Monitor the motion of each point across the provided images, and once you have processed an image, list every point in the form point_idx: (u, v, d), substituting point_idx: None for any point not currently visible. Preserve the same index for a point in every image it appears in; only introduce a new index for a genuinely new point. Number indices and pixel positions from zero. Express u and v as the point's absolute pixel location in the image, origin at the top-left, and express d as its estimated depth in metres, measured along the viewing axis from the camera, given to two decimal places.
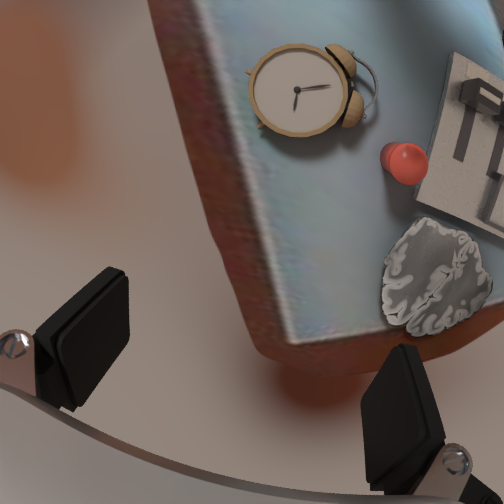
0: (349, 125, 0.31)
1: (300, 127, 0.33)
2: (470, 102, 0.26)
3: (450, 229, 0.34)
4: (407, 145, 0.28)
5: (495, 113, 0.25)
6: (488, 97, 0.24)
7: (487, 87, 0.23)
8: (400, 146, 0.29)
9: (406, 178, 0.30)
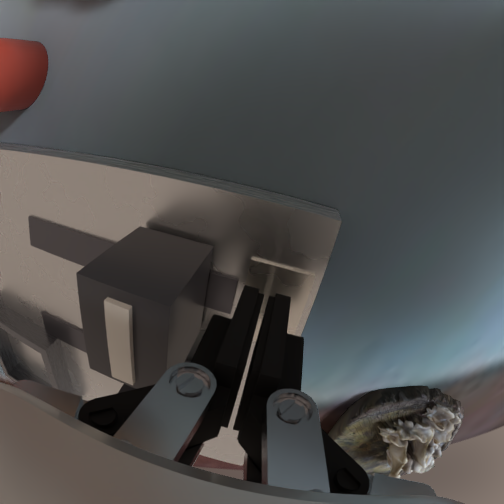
0: None
1: None
2: None
3: None
4: None
5: None
6: (116, 338, 0.08)
7: (148, 340, 0.08)
8: None
9: None
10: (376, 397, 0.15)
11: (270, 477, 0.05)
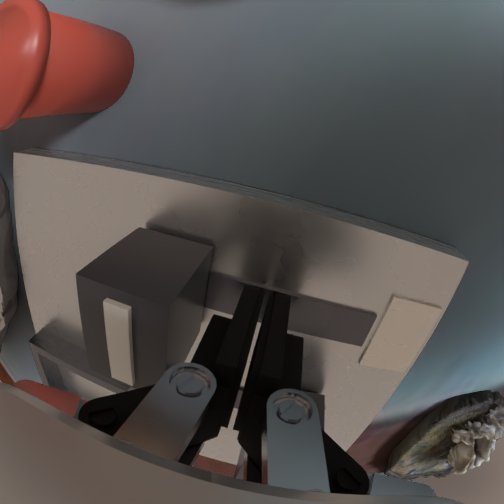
0: None
1: None
2: None
3: None
4: (31, 26, 0.05)
5: None
6: (116, 339, 0.08)
7: (147, 340, 0.08)
8: (29, 6, 0.05)
9: None
10: (454, 403, 0.14)
11: (270, 477, 0.05)
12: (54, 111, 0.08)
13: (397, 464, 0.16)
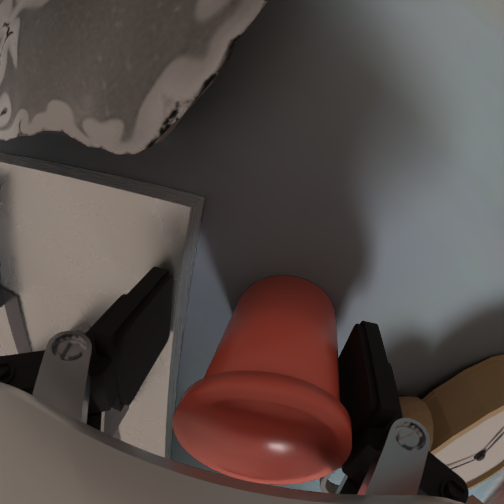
0: None
1: None
2: None
3: (37, 130, 0.08)
4: (272, 481, 0.07)
5: None
6: None
7: None
8: (300, 480, 0.07)
9: (271, 413, 0.06)
10: None
11: None
12: None
13: None
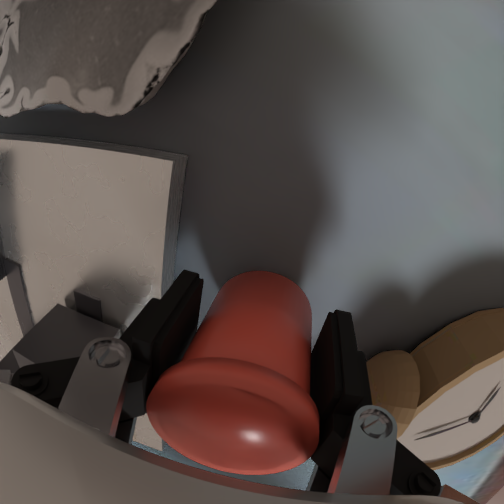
0: (402, 385, 0.11)
1: (503, 359, 0.10)
2: None
3: (38, 104, 0.09)
4: (248, 471, 0.08)
5: (22, 345, 0.11)
6: None
7: None
8: (275, 470, 0.07)
9: (233, 398, 0.06)
10: None
11: (370, 490, 0.04)
12: None
13: None
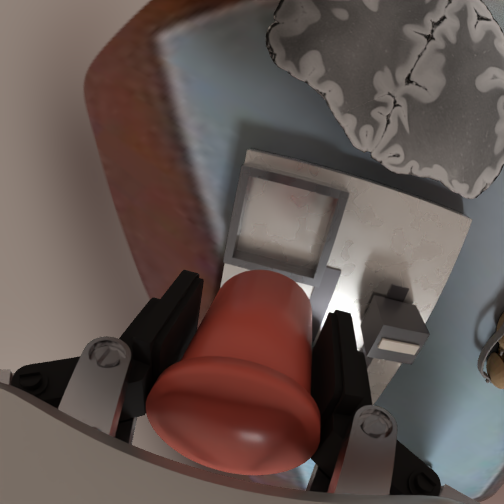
0: None
1: None
2: (416, 316, 0.21)
3: (424, 175, 0.18)
4: (249, 471, 0.08)
5: (386, 321, 0.20)
6: (401, 344, 0.20)
7: (400, 356, 0.20)
8: (276, 470, 0.07)
9: (233, 398, 0.06)
10: None
11: (371, 490, 0.04)
12: None
13: None
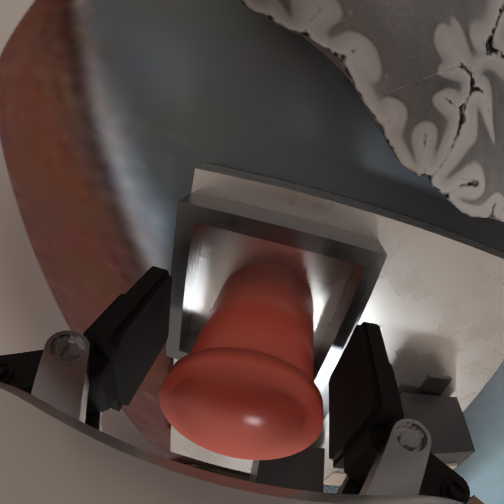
0: None
1: None
2: (457, 420, 0.12)
3: None
4: (256, 456, 0.08)
5: None
6: None
7: None
8: (281, 455, 0.08)
9: (243, 385, 0.07)
10: None
11: None
12: None
13: None
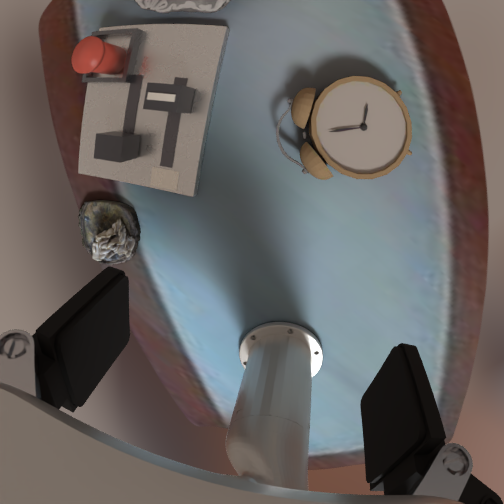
0: (307, 88, 0.28)
1: (359, 87, 0.28)
2: None
3: (180, 8, 0.27)
4: (88, 69, 0.26)
5: (152, 83, 0.28)
6: (162, 95, 0.28)
7: (165, 105, 0.29)
8: (94, 65, 0.26)
9: (88, 41, 0.25)
10: (132, 211, 0.40)
11: None
12: None
13: (93, 203, 0.39)
